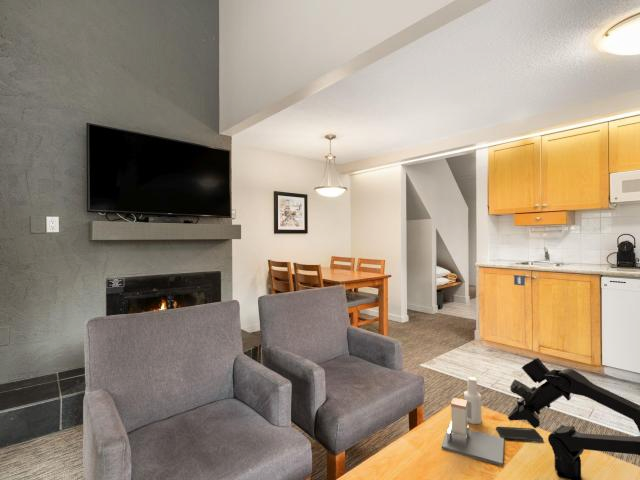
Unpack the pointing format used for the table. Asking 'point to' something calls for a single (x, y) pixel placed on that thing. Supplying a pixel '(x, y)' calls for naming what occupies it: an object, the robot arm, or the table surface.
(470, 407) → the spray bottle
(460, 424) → the tall rectangular pillar
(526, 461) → the table surface
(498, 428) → the phone
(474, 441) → the base board
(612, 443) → the robot arm
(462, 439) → the friction collar
